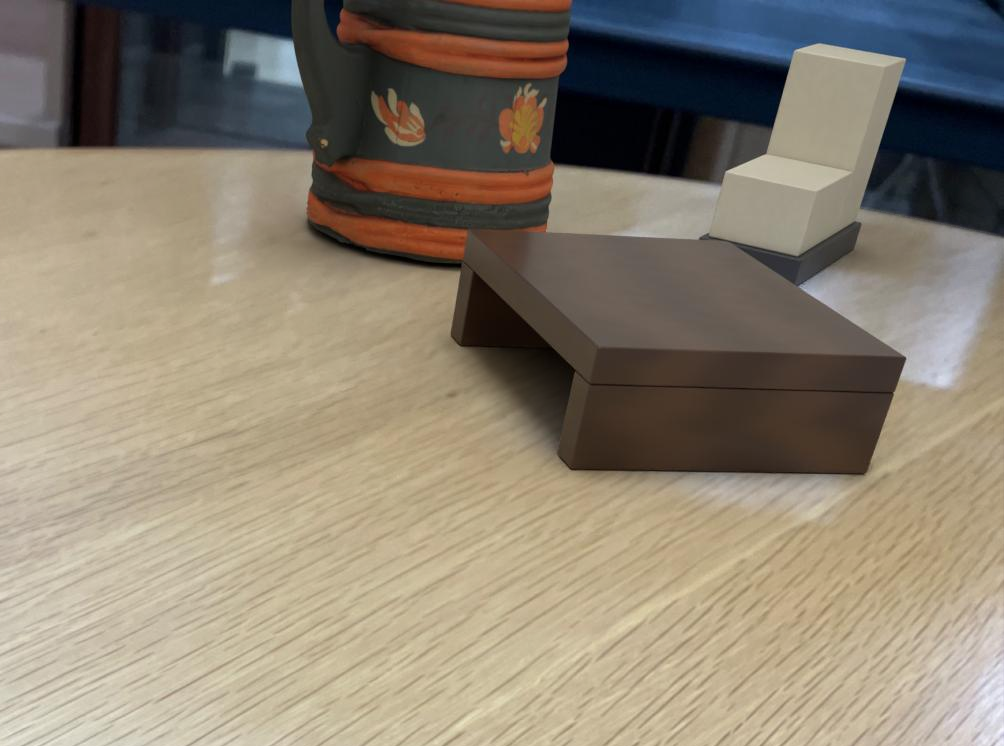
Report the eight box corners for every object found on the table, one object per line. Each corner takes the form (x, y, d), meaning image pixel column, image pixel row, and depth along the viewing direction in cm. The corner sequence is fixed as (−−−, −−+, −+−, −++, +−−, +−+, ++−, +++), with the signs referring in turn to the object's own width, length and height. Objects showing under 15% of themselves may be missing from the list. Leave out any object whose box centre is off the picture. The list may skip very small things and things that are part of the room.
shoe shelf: (701, 342, 80) (728, 240, 77) (867, 474, 67) (908, 357, 64) (449, 334, 78) (467, 227, 74) (570, 469, 64) (598, 347, 61)
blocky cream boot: (760, 228, 103) (812, 41, 96) (854, 248, 100) (914, 59, 93) (691, 265, 93) (743, 61, 86) (793, 289, 91) (854, 81, 84)
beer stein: (382, 293, 82) (444, -170, 69) (201, 226, 90) (226, -203, 77) (590, 252, 93) (677, -155, 80) (413, 195, 101) (466, -185, 88)
